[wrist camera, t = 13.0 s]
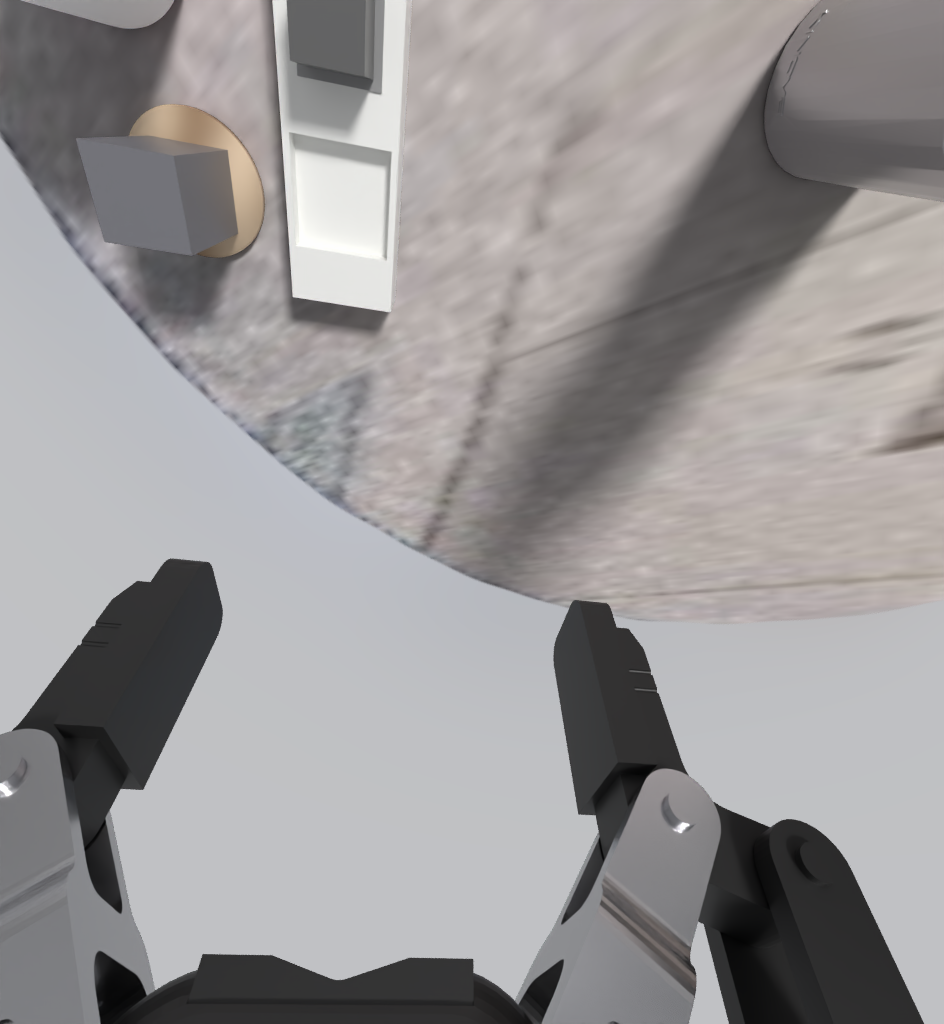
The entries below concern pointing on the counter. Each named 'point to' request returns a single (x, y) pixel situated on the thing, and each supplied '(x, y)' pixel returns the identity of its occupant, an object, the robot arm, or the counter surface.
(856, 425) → the counter surface
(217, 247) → the coaster
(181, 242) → the block
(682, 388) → the counter surface
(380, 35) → the power strip
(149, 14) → the beverage can
